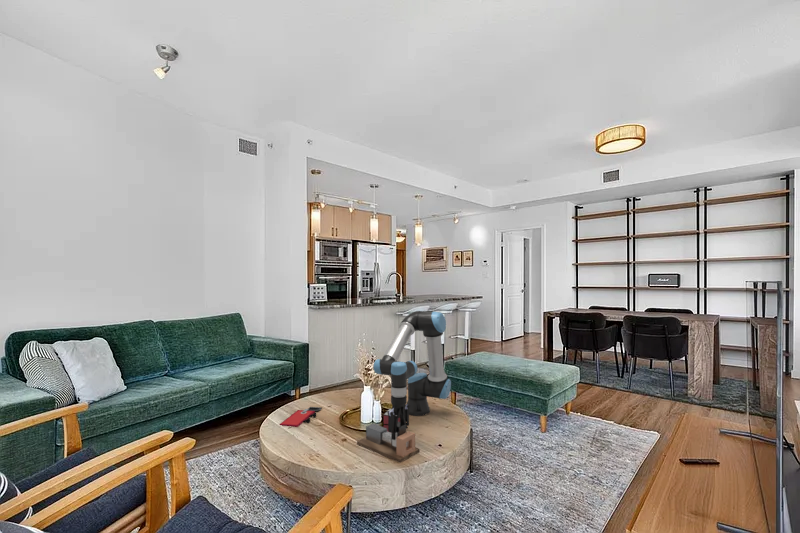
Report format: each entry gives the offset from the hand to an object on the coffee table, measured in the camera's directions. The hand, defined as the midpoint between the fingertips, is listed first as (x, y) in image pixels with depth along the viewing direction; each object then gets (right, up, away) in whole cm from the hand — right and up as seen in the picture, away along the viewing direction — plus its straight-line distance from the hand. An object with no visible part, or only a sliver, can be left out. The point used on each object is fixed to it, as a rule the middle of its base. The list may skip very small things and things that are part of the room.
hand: (398, 443), depth 184 cm
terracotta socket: (+3, -3, -3) cm, 5 cm away
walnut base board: (-6, -4, +5) cm, 9 cm away
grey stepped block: (-11, -3, +10) cm, 15 cm away
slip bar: (-3, -1, +2) cm, 4 cm away
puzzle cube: (-2, -5, +25) cm, 26 cm away
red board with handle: (-57, -6, +46) cm, 74 cm away
